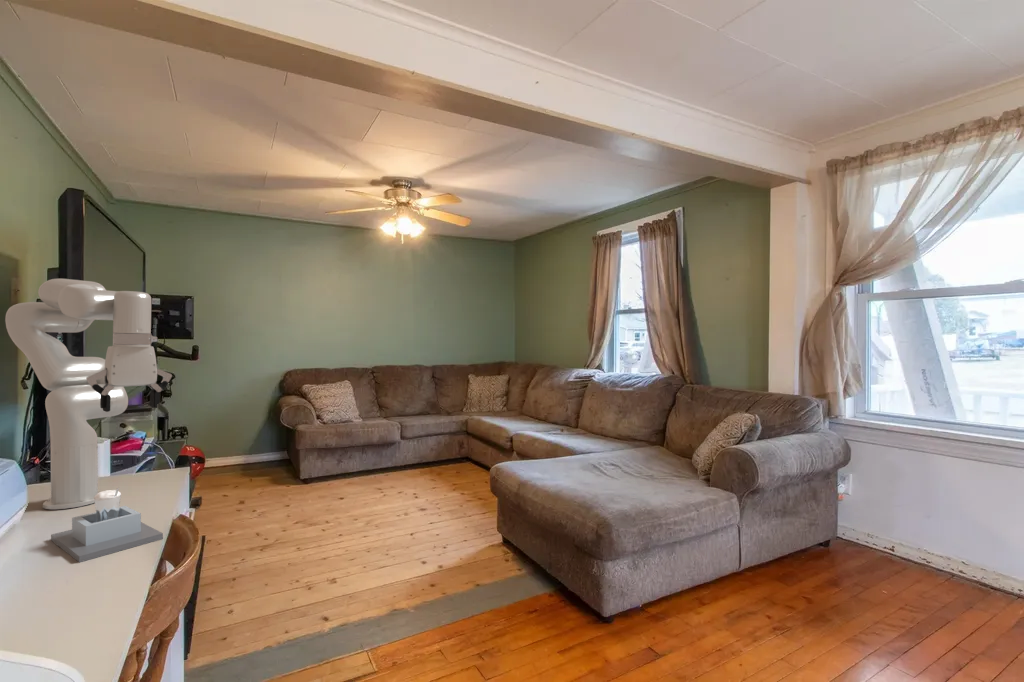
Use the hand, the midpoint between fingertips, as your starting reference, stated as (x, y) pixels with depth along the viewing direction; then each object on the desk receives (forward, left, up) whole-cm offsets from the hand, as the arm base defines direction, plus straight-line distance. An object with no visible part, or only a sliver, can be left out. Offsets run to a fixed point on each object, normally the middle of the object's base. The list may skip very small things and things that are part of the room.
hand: (130, 409), depth 123 cm
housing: (+15, -9, -26) cm, 32 cm away
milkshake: (+15, -9, -25) cm, 31 cm away
